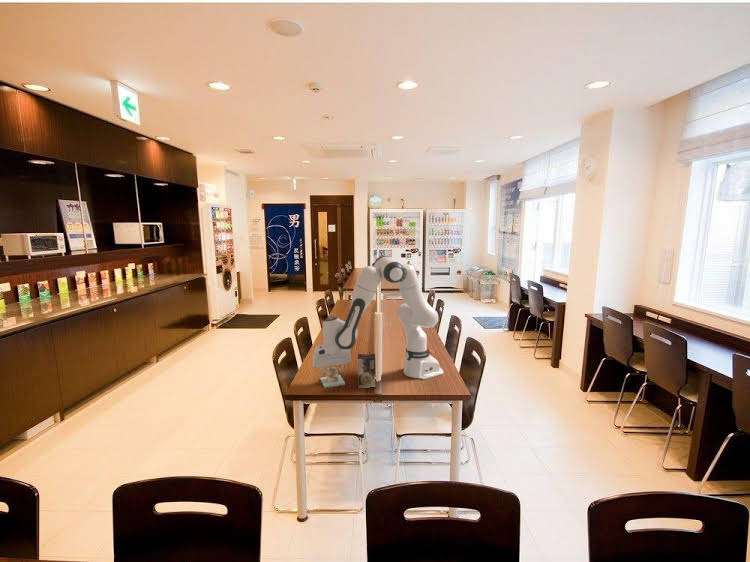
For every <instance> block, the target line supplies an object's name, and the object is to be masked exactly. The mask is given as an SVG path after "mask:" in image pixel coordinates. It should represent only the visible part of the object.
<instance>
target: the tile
mask: <svg viewBox="0 0 750 562" xmlns="http://www.w3.org/2000/svg"><path fill="white" fill-rule="evenodd" d="M319 381H320V382H321V384H322V386H323V388H324V389H326V388H327V387H328V388H333V387H338V386H340V385H341V386H346V382H345V380H344V378H342V376H341V374H338V382H331V383H329V382H328V380H327V376H324V377H319Z"/></svg>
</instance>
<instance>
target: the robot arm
mask: <svg viewBox="0 0 750 562" xmlns="http://www.w3.org/2000/svg"><path fill="white" fill-rule="evenodd" d="M383 280H386V282H389V283H391V284H392V283H393V284H396V283H397V285H398V289H399V293H400V296H401V299H402V301H403V302H404V303H402V304H400V305H399V306H398V308H397V313H396V314H397V317H398V319H399V320H400V321H401V323H402V325H403V327H404V330H405V335H406V348H405V365H404V369H403V374H404V375H405V376H407V377H409V378H412V379H419V380H427V379H431V378H435V377H438V376H442V375H444V374H445V373H444V369H442V367H440V363H439V361H438V359H436V358H434V357H433V356H432V354H433V353H434V351H433V350H432V349H429V348H427V346H428V337H427V334H426V333H425V331H424V330H423V328H434V327H436V325H437V324H438V321H439V314H438V311H437V310H436V309H434V308H433V307H432V306H431V305H430V304H429V302H428V301H427V299H426V297H425V296H424V294H423V291H422V287H421V284H420V280H419V276H418V274H417V272H416V270H415V267H414V266H413V265H412V264H409V263H404V264H402V263H400V262H398V261H397V260H396V259H394V258H392V257H390V256H388V255H382V256H378V257H377V258H376V259H375V261H374V262H372V264H371V265H366V266H364V267H363V268H362V269H361V271H360V273H359V275H358V277H357V280H356V281H355V284H354V286H353V291H352V295H351V296H352V297H351V301H350V302H351V304H350V308H349V311H348V314H347V317H346V320H345V321H344V320H342V319H340V318H339V317H337V316H332V317H328V318H326V319H325V320H324V321H323V324H322V336H323V340H322V344H320V345H318V346H315V347H314V349H313V350H314V353H313V354H312V366H313V368H315V369H317V368H319V369H320V371H321V375H322V376H324V375H326V370H324V368H325V367H332V366H333V367H334V366H339V365H341V366H340V367H339V368H338V373H342V372H343V369H344V368H345V365H347V364H351V362H352V358H351V353H352V348H353V347H354V346H355V344H356V340H357V337H358V333H359V329H358V325H359V323H360V321H361V317H362V316H363V314H364V312H365V311H366V309H367V308H368V306H369V305H370V304H371V302H372V301H373V298H374V297H375V296H376V295H375V294H376V293H377V290H378V286H379V284H380V283H381V282H382V281H383Z"/></svg>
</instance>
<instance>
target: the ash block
mask: <svg viewBox="0 0 750 562" xmlns="http://www.w3.org/2000/svg"><path fill="white" fill-rule="evenodd" d="M338 375H339V369H338V368H337V367H336V366H333V367H327V368H326V377H327V380H328V382H329V383H331V382H338Z"/></svg>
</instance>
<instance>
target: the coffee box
mask: <svg viewBox="0 0 750 562" xmlns="http://www.w3.org/2000/svg"><path fill="white" fill-rule="evenodd" d="M376 367H377V366H376V353H358V354H357V368H358V369H357V372H358V373H357V375H358V376H357V377H358V378H357V379H358V389H367V388H368V389H371V388H370V387H374V385H375V377H377V375H376V374H377V373H376V370H377V369H376Z"/></svg>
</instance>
